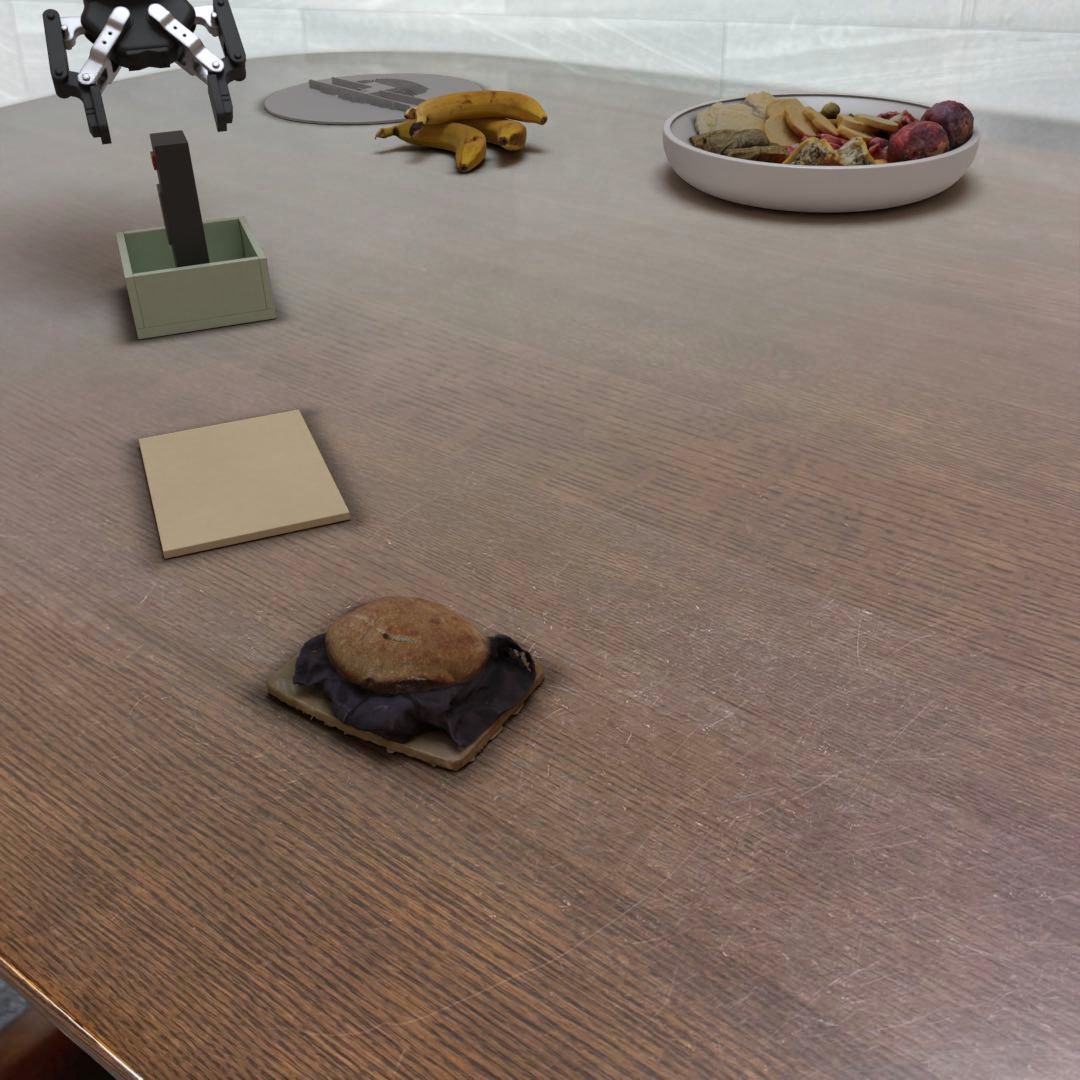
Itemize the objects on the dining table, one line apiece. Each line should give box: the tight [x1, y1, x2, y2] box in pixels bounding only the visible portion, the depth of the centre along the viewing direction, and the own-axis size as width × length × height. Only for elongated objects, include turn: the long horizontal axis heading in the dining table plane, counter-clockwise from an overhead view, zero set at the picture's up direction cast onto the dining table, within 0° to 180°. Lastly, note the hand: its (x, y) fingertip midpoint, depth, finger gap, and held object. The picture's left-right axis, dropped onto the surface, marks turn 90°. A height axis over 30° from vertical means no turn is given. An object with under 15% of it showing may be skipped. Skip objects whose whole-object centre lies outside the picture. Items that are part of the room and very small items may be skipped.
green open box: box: [115, 215, 277, 340], centre depth 93 cm, size 10×11×5 cm
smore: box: [265, 595, 546, 772], centre depth 53 cm, size 11×8×4 cm
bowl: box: [662, 90, 981, 214], centre depth 117 cm, size 30×30×8 cm
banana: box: [374, 89, 548, 173], centre depth 129 cm, size 15×19×6 cm
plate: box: [264, 72, 484, 125], centre depth 155 cm, size 28×28×1 cm
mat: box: [138, 409, 351, 560], centre depth 70 cm, size 14×10×1 cm
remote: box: [149, 129, 210, 268], centre depth 91 cm, size 3×4×12 cm
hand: (165, 132), depth 90 cm, fingers open, 8 cm apart
